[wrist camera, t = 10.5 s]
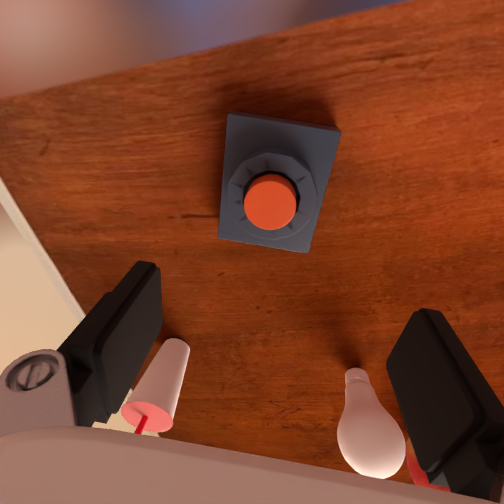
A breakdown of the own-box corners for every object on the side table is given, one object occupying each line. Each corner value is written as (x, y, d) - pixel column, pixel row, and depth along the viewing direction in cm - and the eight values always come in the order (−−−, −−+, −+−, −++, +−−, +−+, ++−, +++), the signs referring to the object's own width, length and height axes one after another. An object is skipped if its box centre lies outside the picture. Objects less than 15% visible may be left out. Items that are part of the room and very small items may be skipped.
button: (250, 169, 20) (247, 176, 19) (300, 177, 20) (301, 185, 19) (244, 215, 22) (241, 225, 21) (290, 223, 22) (290, 234, 21)
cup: (150, 332, 36) (94, 433, 26) (191, 331, 35) (149, 436, 25) (163, 361, 38) (117, 464, 28) (201, 361, 38) (168, 467, 27)
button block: (232, 110, 22) (222, 116, 19) (337, 127, 22) (346, 136, 18) (222, 227, 27) (212, 248, 24) (307, 241, 27) (309, 265, 24)
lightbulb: (392, 369, 34) (431, 479, 25) (353, 391, 37) (374, 497, 28) (355, 344, 33) (381, 450, 23) (318, 369, 36) (327, 472, 26)
